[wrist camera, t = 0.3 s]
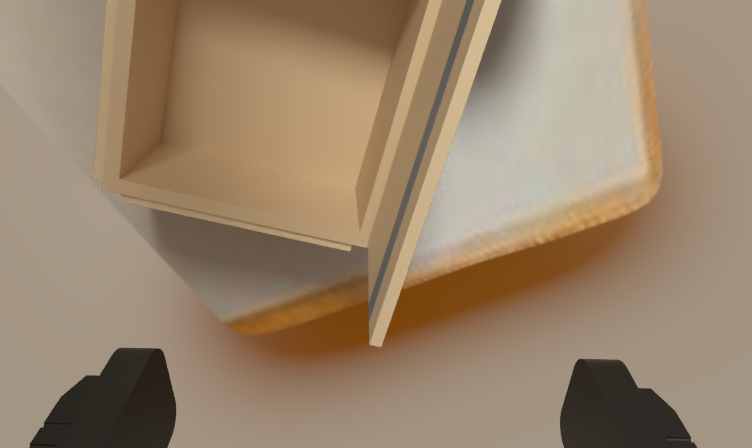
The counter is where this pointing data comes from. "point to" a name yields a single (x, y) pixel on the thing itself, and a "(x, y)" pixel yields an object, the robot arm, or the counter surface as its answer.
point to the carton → (259, 109)
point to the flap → (424, 150)
